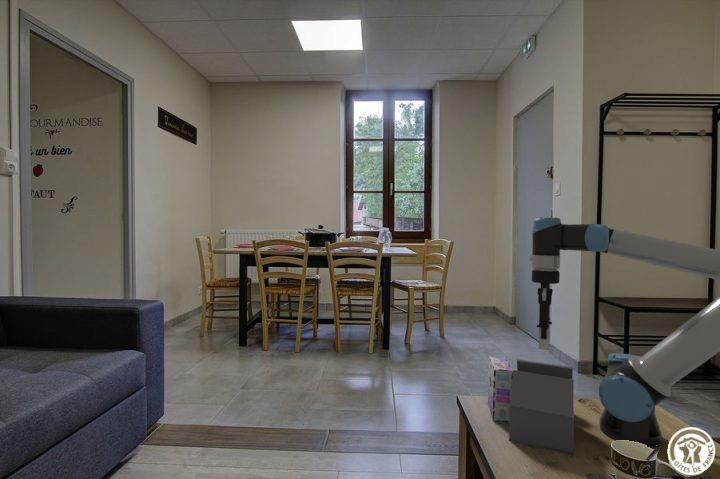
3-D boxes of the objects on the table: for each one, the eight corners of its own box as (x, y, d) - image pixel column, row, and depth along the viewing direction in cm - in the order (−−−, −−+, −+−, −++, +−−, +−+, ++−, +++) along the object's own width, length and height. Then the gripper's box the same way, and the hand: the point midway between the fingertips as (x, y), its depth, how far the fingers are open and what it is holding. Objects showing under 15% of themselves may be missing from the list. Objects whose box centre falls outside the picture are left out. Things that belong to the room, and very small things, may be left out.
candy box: (512, 423, 123) (513, 370, 122) (492, 421, 124) (493, 369, 124) (505, 404, 136) (506, 356, 136) (487, 402, 137) (488, 355, 137)
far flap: (571, 391, 123) (571, 389, 124) (572, 368, 119) (572, 367, 119) (517, 382, 130) (518, 380, 131) (516, 360, 126) (516, 359, 126)
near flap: (573, 380, 109) (573, 379, 109) (573, 418, 105) (573, 417, 105) (513, 370, 117) (512, 369, 116) (510, 405, 112) (510, 405, 112)
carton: (571, 423, 123) (572, 391, 123) (573, 455, 105) (574, 418, 105) (516, 412, 131) (517, 381, 130) (509, 440, 113) (509, 405, 113)
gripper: (533, 266, 128) (532, 339, 128) (529, 271, 113) (528, 353, 114) (559, 267, 124) (558, 342, 125) (559, 272, 110) (557, 357, 110)
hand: (543, 347), depth 119 cm, fingers open, 3 cm apart
